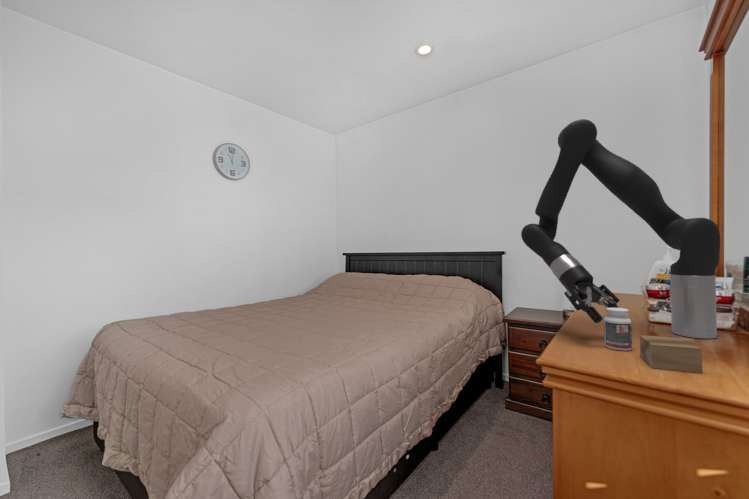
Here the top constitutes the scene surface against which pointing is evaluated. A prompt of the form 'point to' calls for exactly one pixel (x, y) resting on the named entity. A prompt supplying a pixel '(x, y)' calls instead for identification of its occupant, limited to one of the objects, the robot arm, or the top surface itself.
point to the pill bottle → (618, 329)
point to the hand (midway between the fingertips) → (611, 319)
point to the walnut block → (671, 353)
